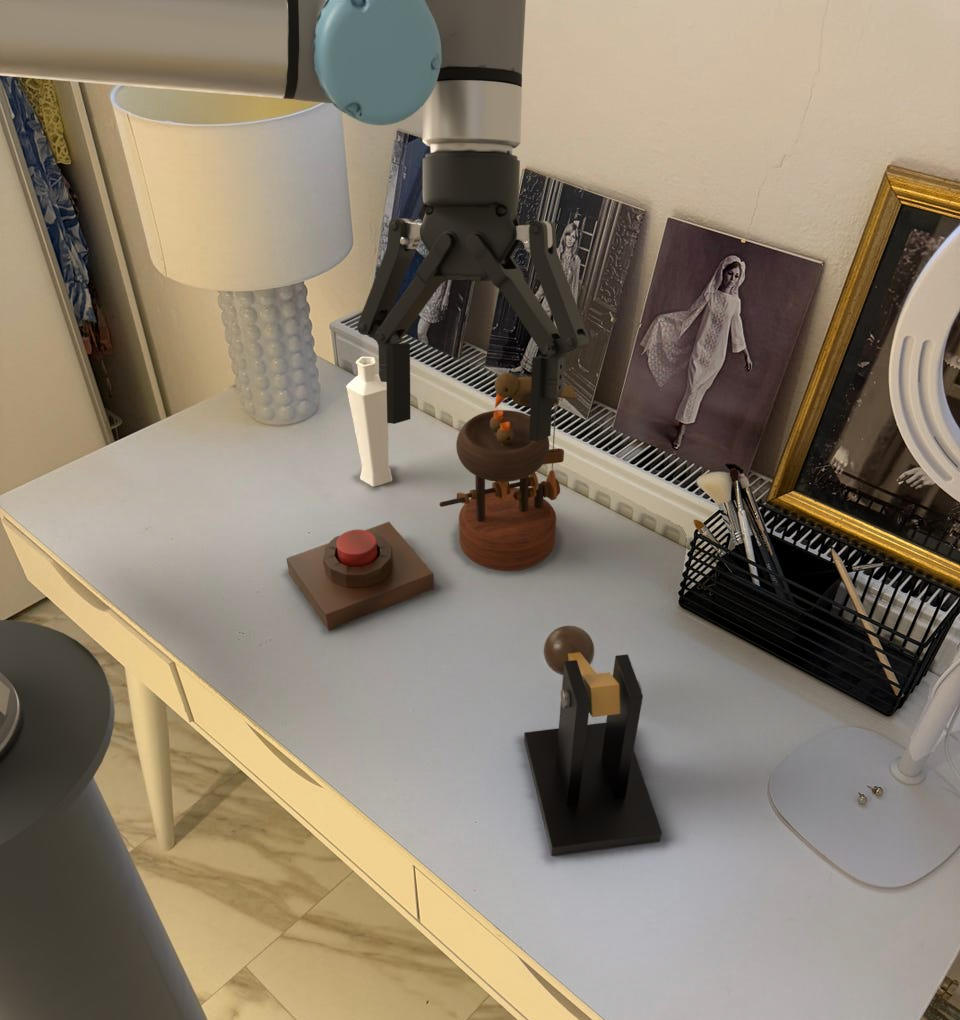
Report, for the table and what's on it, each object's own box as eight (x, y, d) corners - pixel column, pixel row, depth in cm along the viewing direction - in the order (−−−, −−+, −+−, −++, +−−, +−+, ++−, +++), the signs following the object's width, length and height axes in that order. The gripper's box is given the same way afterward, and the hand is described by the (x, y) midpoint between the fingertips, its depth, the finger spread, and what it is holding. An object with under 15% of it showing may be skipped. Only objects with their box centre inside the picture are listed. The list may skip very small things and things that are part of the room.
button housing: (328, 630, 96) (323, 601, 93) (288, 574, 102) (283, 544, 99) (434, 589, 100) (432, 559, 97) (390, 537, 106) (387, 507, 103)
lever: (540, 669, 86) (537, 622, 85) (588, 663, 87) (586, 617, 85) (578, 731, 72) (575, 676, 71) (635, 724, 73) (633, 669, 72)
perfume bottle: (405, 475, 114) (396, 360, 103) (377, 491, 112) (366, 375, 101) (379, 460, 116) (368, 345, 106) (351, 476, 114) (337, 360, 104)
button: (348, 572, 96) (346, 559, 95) (331, 550, 99) (329, 537, 97) (384, 559, 98) (382, 545, 96) (366, 538, 100) (365, 524, 99)
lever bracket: (523, 740, 86) (528, 629, 76) (622, 728, 86) (639, 617, 77) (551, 856, 77) (561, 747, 67) (660, 841, 78) (685, 732, 68)
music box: (533, 493, 111) (548, 339, 96) (584, 552, 105) (609, 396, 90) (414, 533, 106) (411, 376, 91) (461, 598, 100) (466, 440, 85)
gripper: (642, 153, 72) (620, 437, 80) (362, 156, 82) (368, 408, 91) (607, 144, 66) (587, 454, 74) (309, 149, 76) (321, 420, 84)
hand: (467, 429), depth 82 cm, fingers open, 13 cm apart
